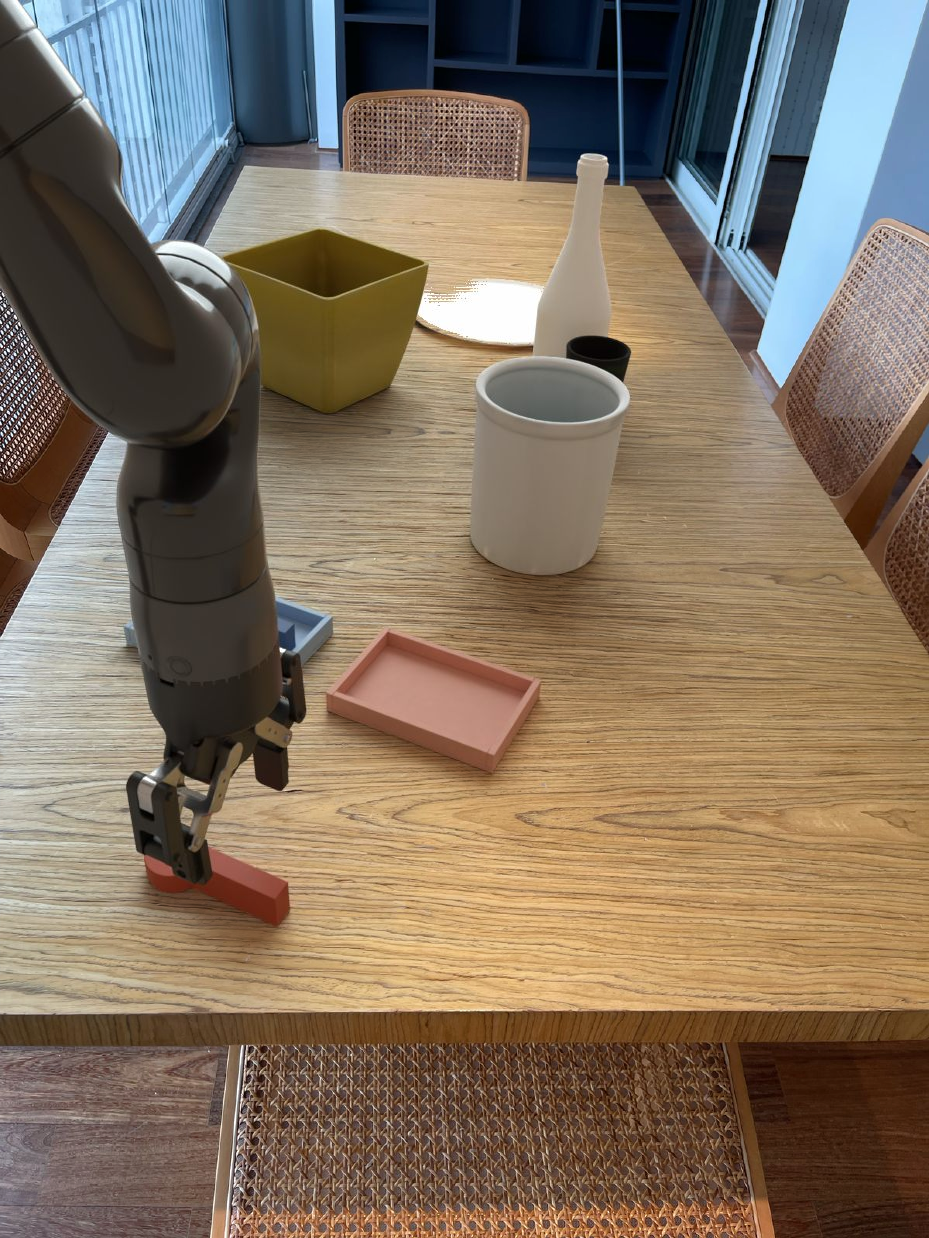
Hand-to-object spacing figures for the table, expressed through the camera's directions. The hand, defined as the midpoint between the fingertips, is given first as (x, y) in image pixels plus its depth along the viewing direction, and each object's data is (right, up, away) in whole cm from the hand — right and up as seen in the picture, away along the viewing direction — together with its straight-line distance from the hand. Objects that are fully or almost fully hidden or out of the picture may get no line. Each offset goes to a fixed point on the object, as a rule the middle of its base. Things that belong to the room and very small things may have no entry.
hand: (235, 828), depth 64 cm
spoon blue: (-6, +12, +26) cm, 29 cm away
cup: (+30, +36, +61) cm, 77 cm away
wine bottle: (+28, +44, +71) cm, 88 cm away
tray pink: (+12, +6, +21) cm, 25 cm away
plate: (+20, +61, +93) cm, 113 cm away
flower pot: (-3, +44, +69) cm, 82 cm away
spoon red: (-2, -5, +5) cm, 7 cm away
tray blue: (-6, +12, +26) cm, 29 cm away
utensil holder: (+22, +22, +42) cm, 52 cm away
